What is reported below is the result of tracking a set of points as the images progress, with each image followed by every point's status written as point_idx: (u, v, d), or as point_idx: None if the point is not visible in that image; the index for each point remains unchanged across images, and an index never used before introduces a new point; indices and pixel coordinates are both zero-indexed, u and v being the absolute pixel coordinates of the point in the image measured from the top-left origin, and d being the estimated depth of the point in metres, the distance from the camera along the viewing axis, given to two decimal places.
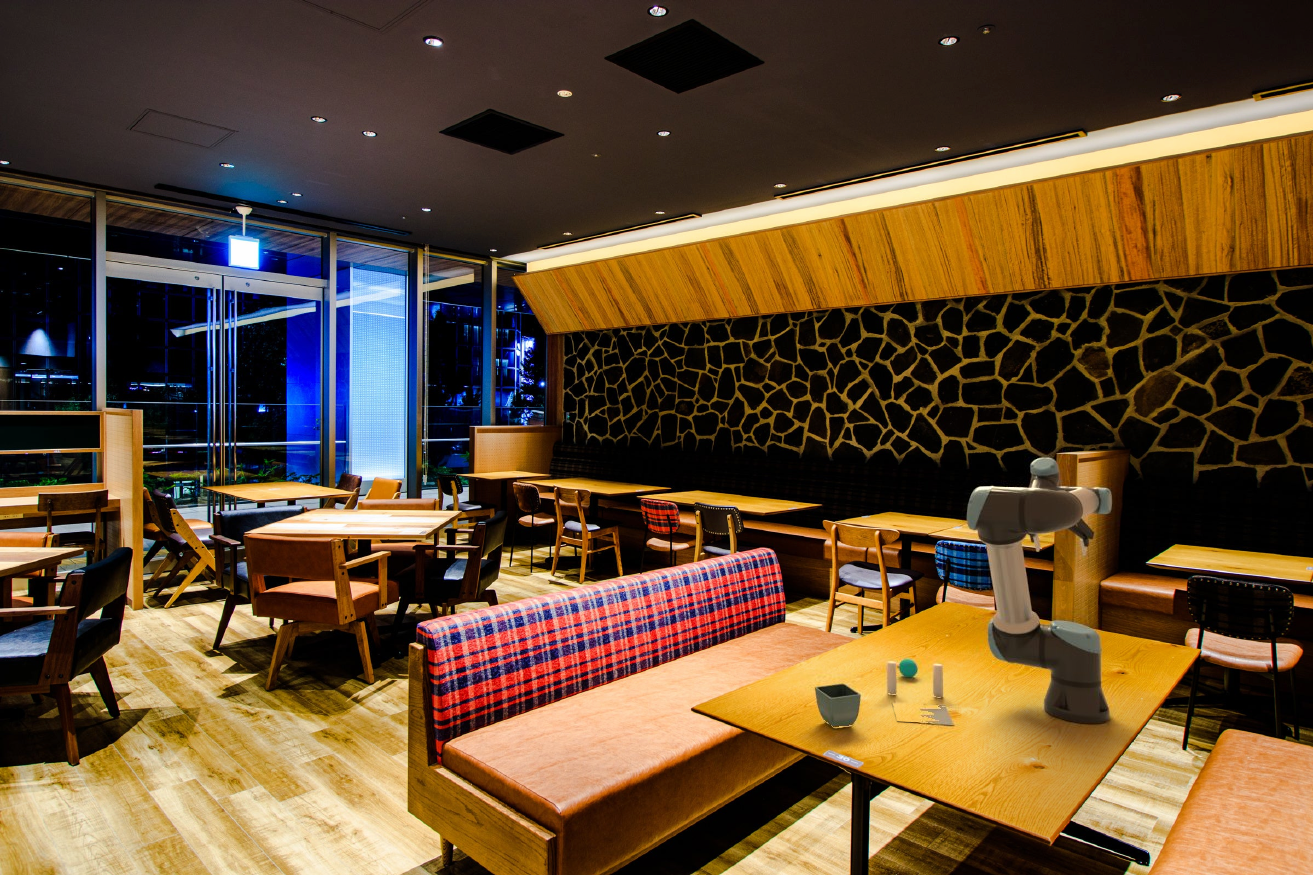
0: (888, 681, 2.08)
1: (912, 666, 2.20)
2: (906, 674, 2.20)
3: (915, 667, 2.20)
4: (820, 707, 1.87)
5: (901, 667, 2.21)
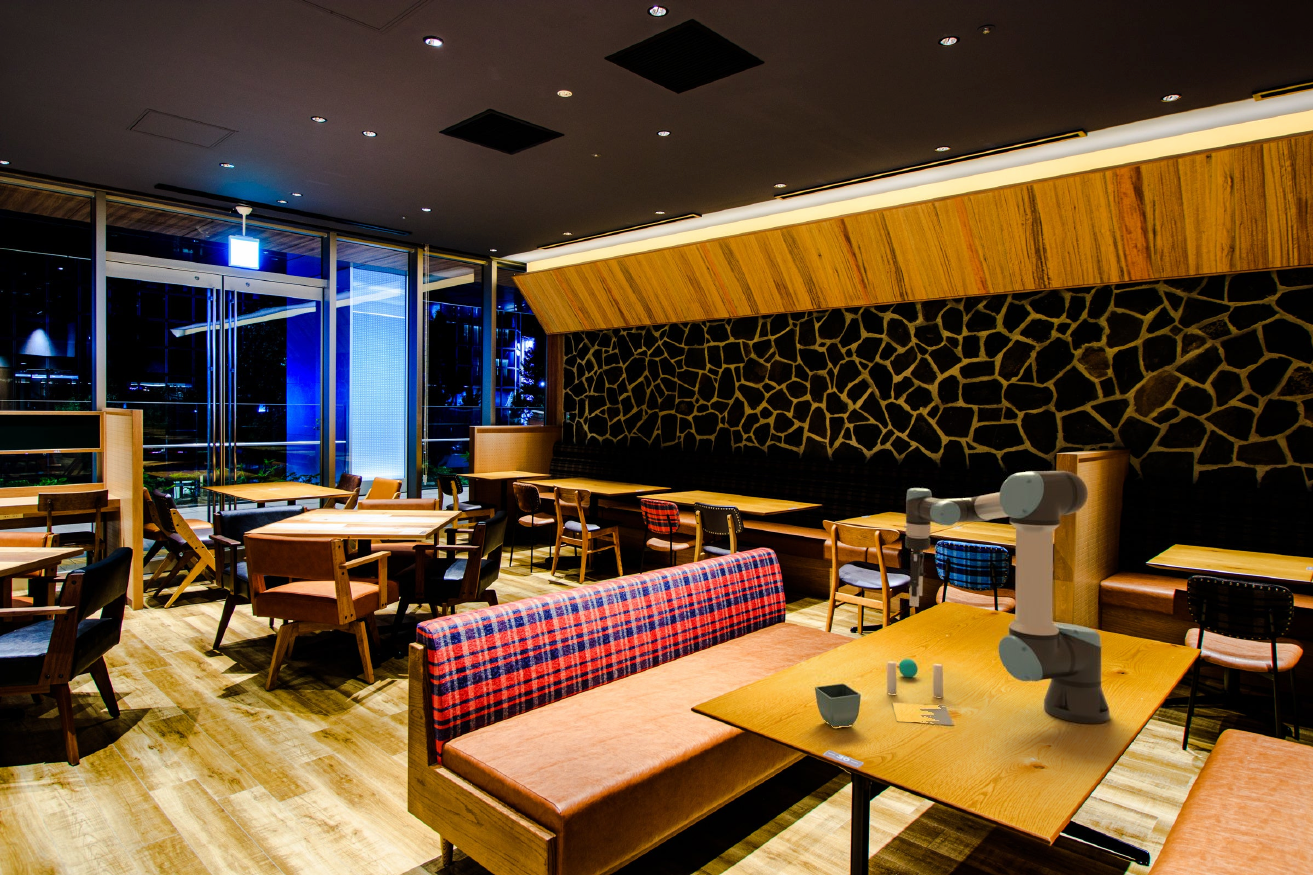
0: (888, 681, 2.08)
1: (912, 666, 2.20)
2: (906, 674, 2.20)
3: (915, 667, 2.20)
4: (820, 707, 1.87)
5: (901, 667, 2.21)
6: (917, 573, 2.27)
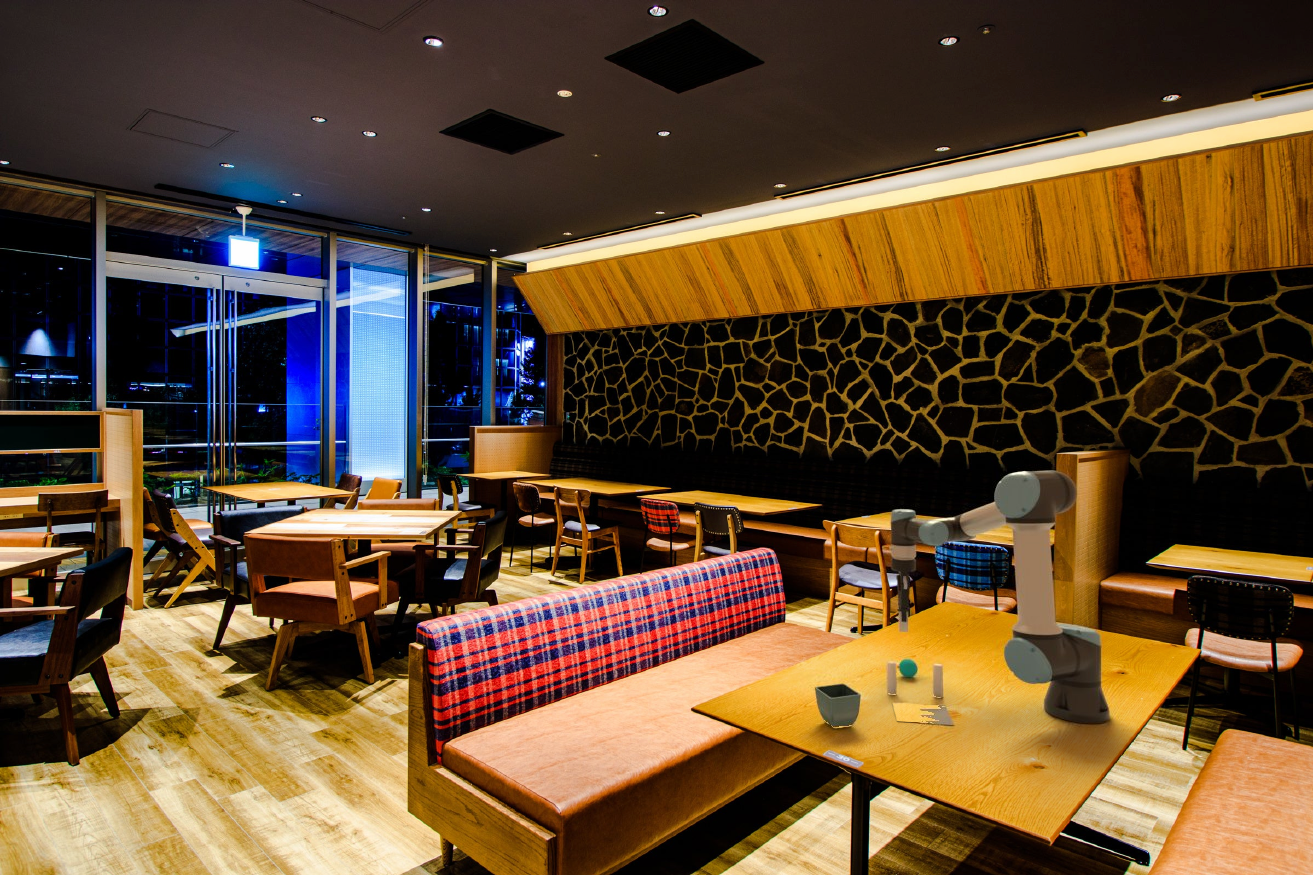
0: (888, 681, 2.08)
1: (912, 666, 2.20)
2: (906, 674, 2.20)
3: (915, 667, 2.20)
4: (820, 707, 1.87)
5: (901, 667, 2.21)
6: (908, 600, 2.27)
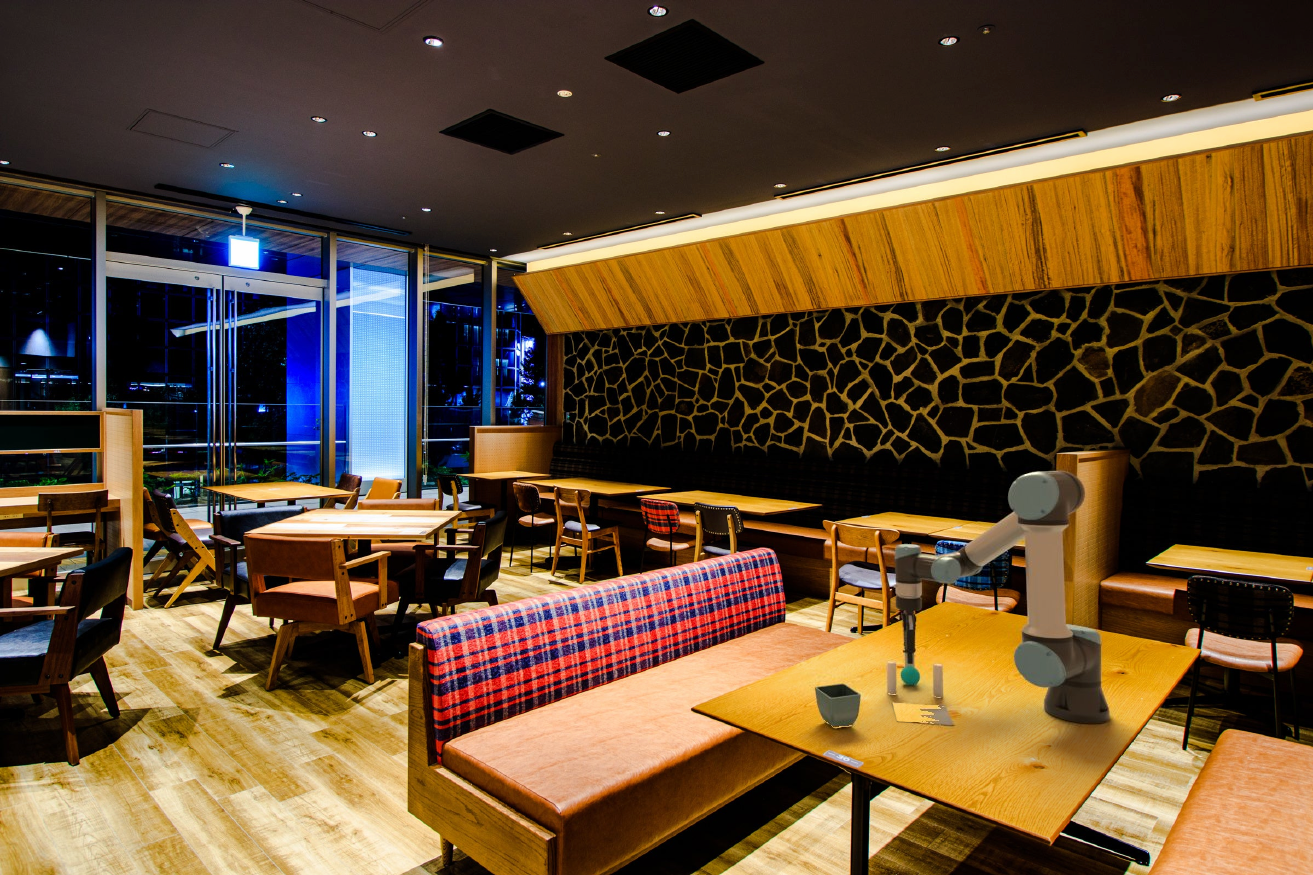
0: (888, 681, 2.08)
1: None
2: None
3: None
4: (820, 707, 1.87)
5: None
6: (914, 641, 2.15)
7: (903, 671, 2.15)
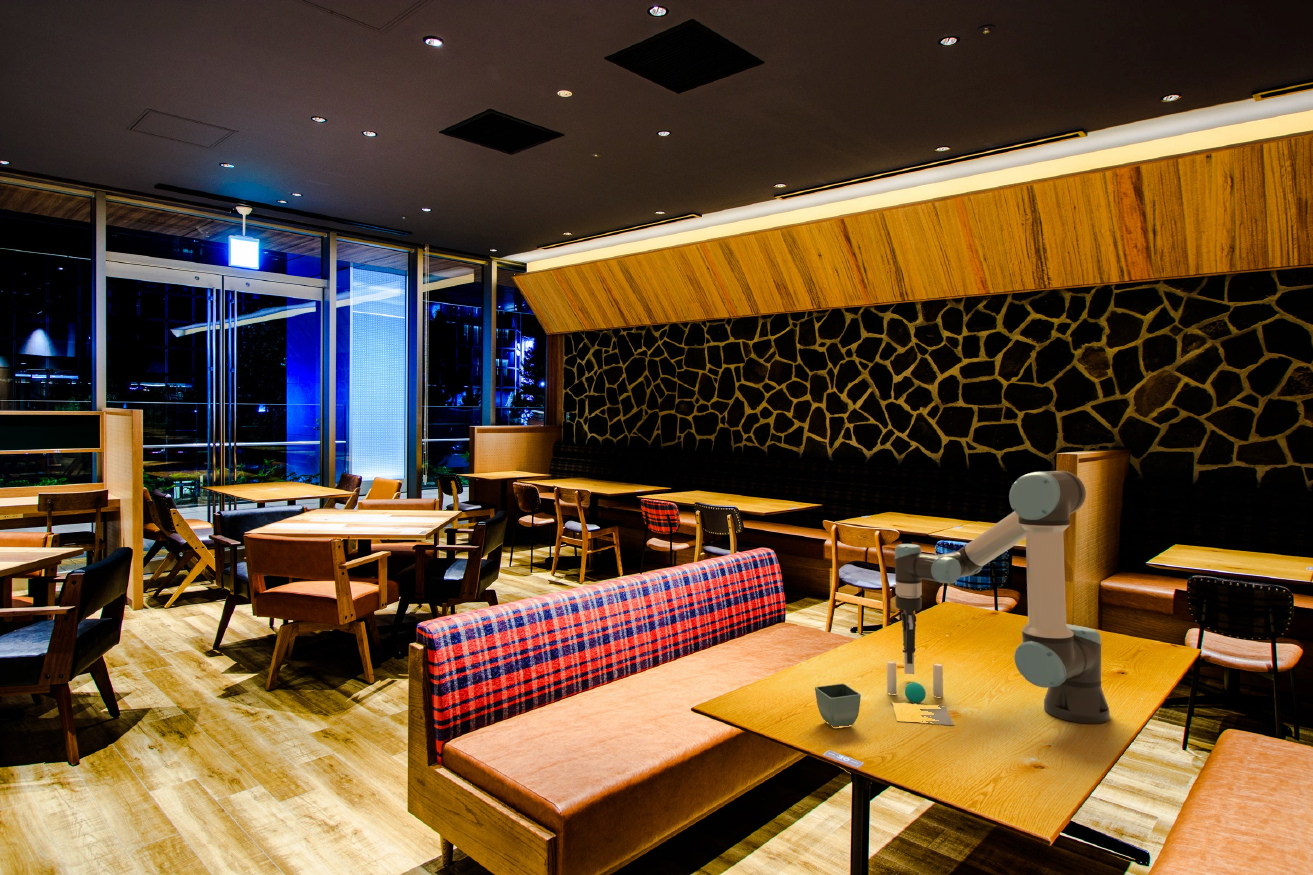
0: (888, 681, 2.08)
1: (920, 701, 1.99)
2: None
3: (923, 699, 2.00)
4: (820, 707, 1.87)
5: (907, 698, 2.01)
6: (913, 641, 2.15)
7: (907, 685, 2.02)
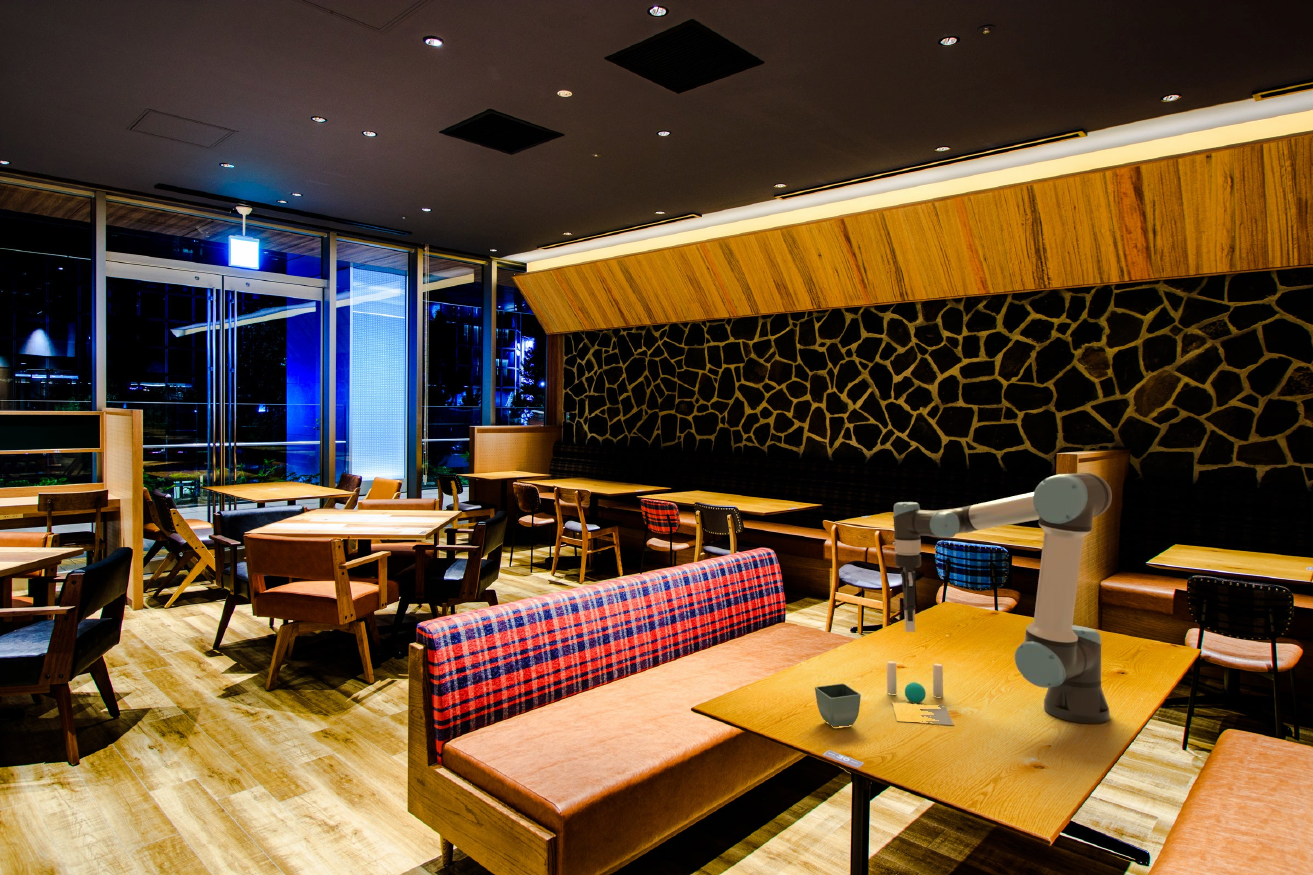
0: (888, 681, 2.08)
1: (920, 701, 1.99)
2: None
3: (923, 699, 2.00)
4: (820, 707, 1.87)
5: (907, 698, 2.01)
6: (913, 598, 2.15)
7: (907, 685, 2.02)
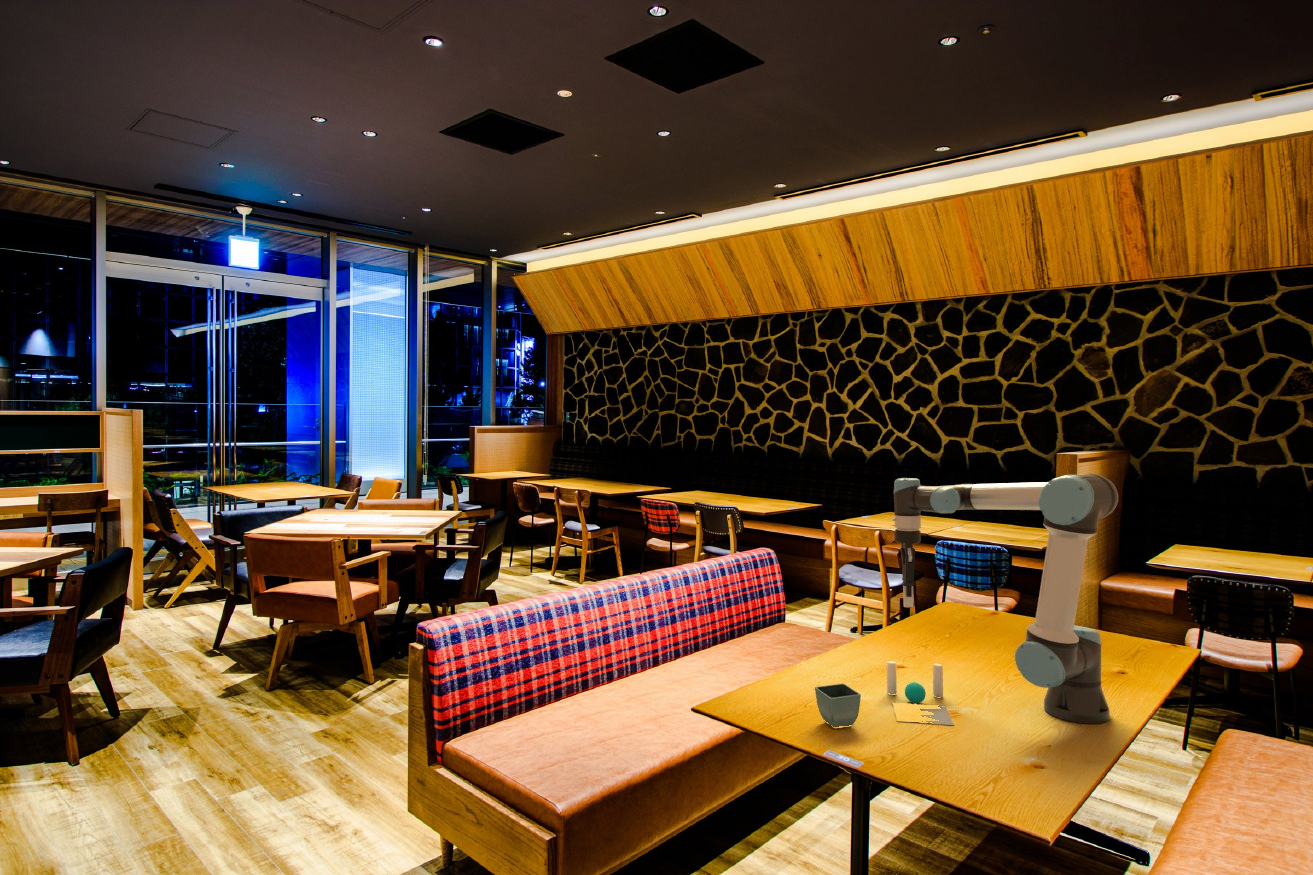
0: (888, 681, 2.08)
1: (920, 701, 1.99)
2: None
3: (923, 699, 2.00)
4: (820, 707, 1.87)
5: (907, 698, 2.01)
6: (912, 573, 2.15)
7: (907, 685, 2.02)
